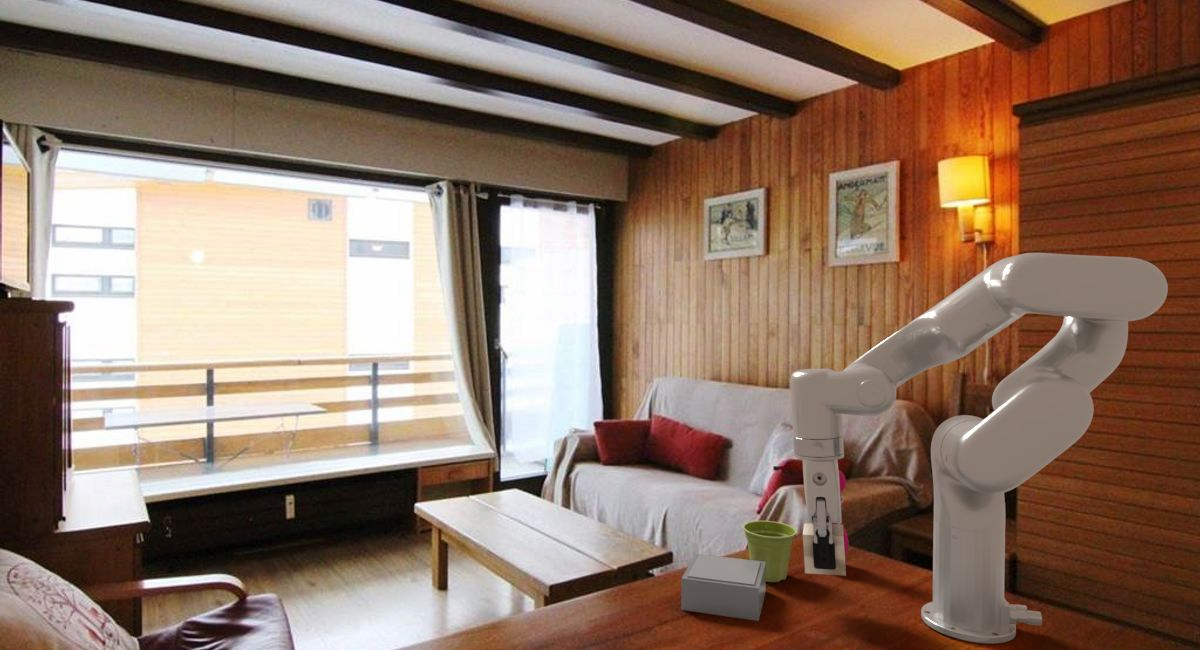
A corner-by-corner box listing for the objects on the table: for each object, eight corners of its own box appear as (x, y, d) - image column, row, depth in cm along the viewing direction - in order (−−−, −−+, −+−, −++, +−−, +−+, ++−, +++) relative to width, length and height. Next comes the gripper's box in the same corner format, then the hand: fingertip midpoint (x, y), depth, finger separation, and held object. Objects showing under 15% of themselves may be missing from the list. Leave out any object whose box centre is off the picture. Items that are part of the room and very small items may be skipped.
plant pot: (791, 568, 126) (791, 521, 126) (800, 588, 117) (801, 537, 117) (739, 565, 127) (740, 519, 127) (745, 585, 118) (745, 535, 118)
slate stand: (765, 591, 116) (765, 560, 115) (758, 620, 104) (758, 587, 104) (695, 581, 119) (695, 552, 119) (681, 609, 108) (681, 577, 108)
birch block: (845, 561, 110) (842, 524, 110) (845, 575, 104) (843, 536, 104) (806, 560, 112) (804, 523, 112) (804, 573, 106) (802, 534, 106)
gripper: (844, 458, 98) (852, 583, 98) (842, 437, 115) (848, 544, 115) (791, 458, 101) (798, 579, 101) (796, 437, 117) (802, 542, 117)
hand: (825, 559), depth 108 cm, fingers closed on birch block, 6 cm apart
